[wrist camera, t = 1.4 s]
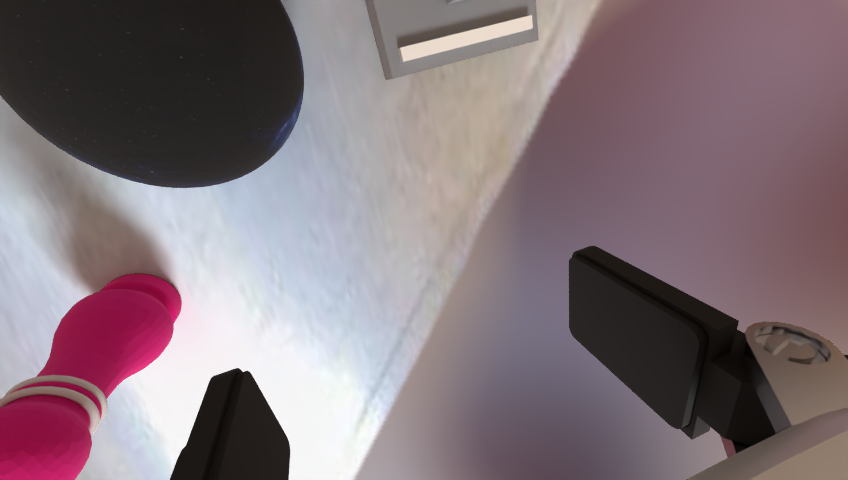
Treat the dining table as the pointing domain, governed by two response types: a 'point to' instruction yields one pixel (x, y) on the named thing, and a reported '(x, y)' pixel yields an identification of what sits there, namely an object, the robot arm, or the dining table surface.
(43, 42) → the decorative sphere
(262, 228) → the dining table surface
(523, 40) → the switch panel
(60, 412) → the pepper mill
